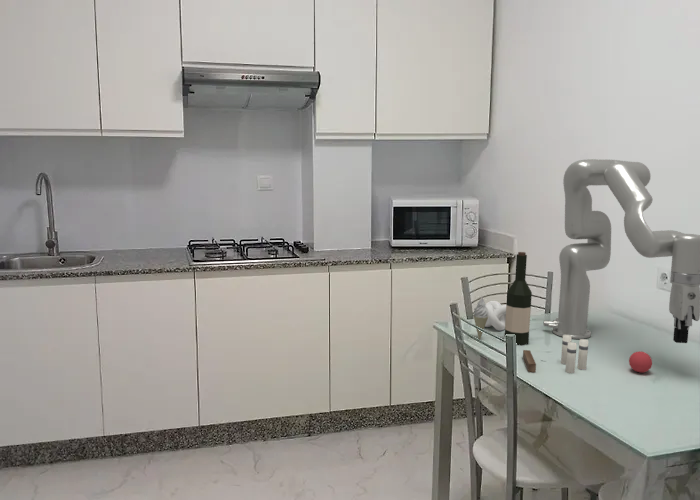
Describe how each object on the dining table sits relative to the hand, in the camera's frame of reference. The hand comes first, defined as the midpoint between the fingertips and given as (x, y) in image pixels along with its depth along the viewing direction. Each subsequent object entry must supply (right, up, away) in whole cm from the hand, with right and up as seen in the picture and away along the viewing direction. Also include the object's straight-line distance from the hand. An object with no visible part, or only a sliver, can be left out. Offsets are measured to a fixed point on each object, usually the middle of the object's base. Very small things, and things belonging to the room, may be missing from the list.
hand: (680, 341), depth 170 cm
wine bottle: (-38, -5, +30) cm, 49 cm away
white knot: (-41, -2, +45) cm, 61 cm away
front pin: (-26, -9, +6) cm, 28 cm away
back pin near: (-30, -9, +3) cm, 32 cm away
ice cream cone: (-50, -4, +31) cm, 59 cm away
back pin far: (-29, -8, +10) cm, 32 cm away
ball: (-10, -6, +3) cm, 12 cm away
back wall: (-40, -8, +8) cm, 42 cm away
